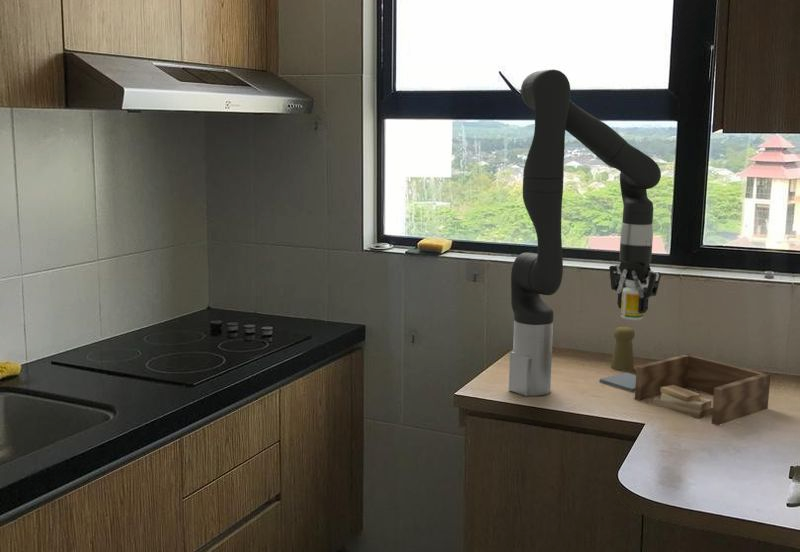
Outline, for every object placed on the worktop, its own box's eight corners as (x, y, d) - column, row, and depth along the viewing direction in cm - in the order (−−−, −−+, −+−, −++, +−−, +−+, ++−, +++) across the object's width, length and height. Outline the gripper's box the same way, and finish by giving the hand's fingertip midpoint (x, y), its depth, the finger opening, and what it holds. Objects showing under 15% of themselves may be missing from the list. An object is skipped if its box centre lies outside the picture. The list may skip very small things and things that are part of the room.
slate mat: (631, 392, 213) (632, 388, 212) (599, 382, 220) (599, 378, 220) (657, 384, 219) (657, 381, 218) (625, 375, 226) (625, 372, 226)
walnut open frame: (717, 425, 190) (720, 389, 188) (634, 399, 207) (636, 366, 206) (767, 408, 201) (770, 374, 200) (685, 385, 219) (687, 353, 217)
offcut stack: (698, 418, 194) (699, 400, 193) (652, 404, 203) (654, 387, 203) (713, 413, 197) (714, 395, 197) (668, 400, 207) (669, 382, 206)
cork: (636, 371, 230) (639, 330, 228) (613, 371, 230) (615, 329, 228) (631, 365, 236) (633, 324, 234) (608, 364, 236) (610, 324, 234)
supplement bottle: (616, 316, 218) (618, 278, 216) (633, 314, 220) (635, 277, 219) (630, 321, 213) (633, 282, 211) (647, 319, 215) (650, 280, 214)
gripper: (602, 239, 217) (599, 307, 220) (651, 246, 205) (646, 317, 208) (622, 237, 221) (618, 303, 224) (670, 244, 210) (666, 314, 213)
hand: (632, 310), depth 216 cm, fingers closed on supplement bottle, 5 cm apart
